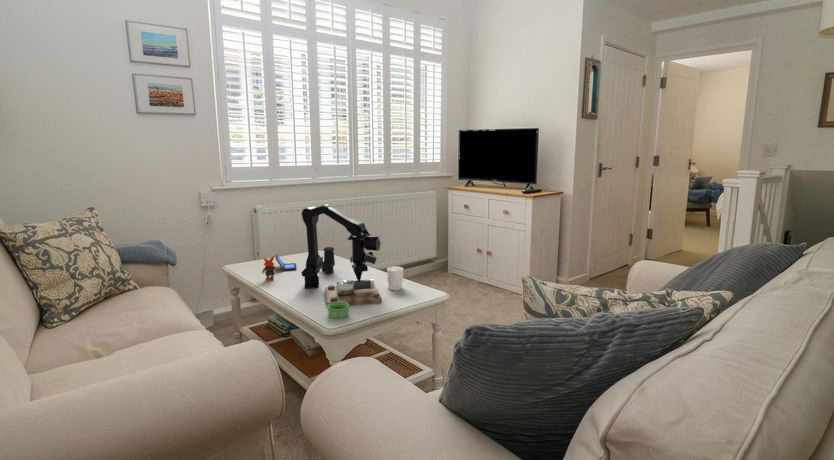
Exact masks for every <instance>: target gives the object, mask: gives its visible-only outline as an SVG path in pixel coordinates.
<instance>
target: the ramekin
mask: <svg viewBox="0 0 834 460" xmlns="http://www.w3.org/2000/svg"><path fill="white" fill-rule="evenodd" d="M326 306H327V305H326ZM349 308H350V305H349V304H348V303H346V302H333V303H330V304H328V306H327V311H328V312H327V313H328V317H330V318H331V319H334V320H335V319H344V318H347V317H348V315H349Z"/></svg>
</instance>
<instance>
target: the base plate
mask: <svg viewBox="0 0 834 460" xmlns="http://www.w3.org/2000/svg"><path fill="white" fill-rule="evenodd" d="M324 294H325V295H324V296H325V300H326V306H328V304H330V303H333V302H346V303H348V304H349V306H356V305H357V306H358V305H368V304H370V305H371V304H381V303H382V301H383V300H382V297H381V294H380V292H379V290H378V288H377V287H376V285H375V283H374V289H362V290H354V294H352V295H346V296H343V295H338V294H337V286H335V285H333V284H332V285H331V284H330V285H328V286H325V287H324Z"/></svg>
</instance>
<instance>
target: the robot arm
mask: <svg viewBox="0 0 834 460" xmlns="http://www.w3.org/2000/svg"><path fill="white" fill-rule="evenodd" d="M323 214H324V215H325V216H327V217H329V218H330V219H332V220H333V221H335V222H337V223H338V224H340V225H341V226H343V227H344V228H345V229H346V231H347V232H348V233H349V234H350V235H349V237H347V240H349V241H351V249H352V250H351V254H352V256H350V257H349V262H350V263H351V264H352V265H351V267H352V270H353V273H354V275H355V278H356V281H358V280H362V274H363V272H368V271H369V270H368V269H369V267H368V265H367V264H366V263H370V264H372V265H375V264H376V262H377V256H376V255H375V254H374V253H373V251H376V252H379V251H380V249H381V240H380V237H379V236H378V235H371V234H370V232H369V231H368V229H367V228H366V224H365V223H364V222H362V221H360V220H357V219H354V218H350V217H348V216H346V215H345V214H344V213H342V212H340V211H339V210H337V209H336V208H334V207H332V206H331V205H330V204H328V203H326V204H323V205H321V206H317V207H316V206H309V207H305V208H304V209H303V210H302V211H301V218H302V221H303V224H304V225H305V228H306V239H307V241H306V242H307V252H308V254H307V258H306V261H305V268H304V269H303V270H301V272H300V273H301V276H302V277H303V278H304V289H317V288H319V286H320V276H319V275H318V273H320V271H321V270H322V266H323V265H324V263H323V261H324V256H320V254H319V244H318V243H319V242H318V229H317V225H318V221H319V216H320V215H323ZM366 251H368V252H366Z"/></svg>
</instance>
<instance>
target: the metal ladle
mask: <svg viewBox="0 0 834 460" xmlns="http://www.w3.org/2000/svg"><path fill="white" fill-rule="evenodd" d="M374 284H375V279H374V278H370V279H360V280H352V279H340V280H337V281H336V287H337V294H338V295H343V296H346V295H352V294H354V290H362V289H374Z"/></svg>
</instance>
